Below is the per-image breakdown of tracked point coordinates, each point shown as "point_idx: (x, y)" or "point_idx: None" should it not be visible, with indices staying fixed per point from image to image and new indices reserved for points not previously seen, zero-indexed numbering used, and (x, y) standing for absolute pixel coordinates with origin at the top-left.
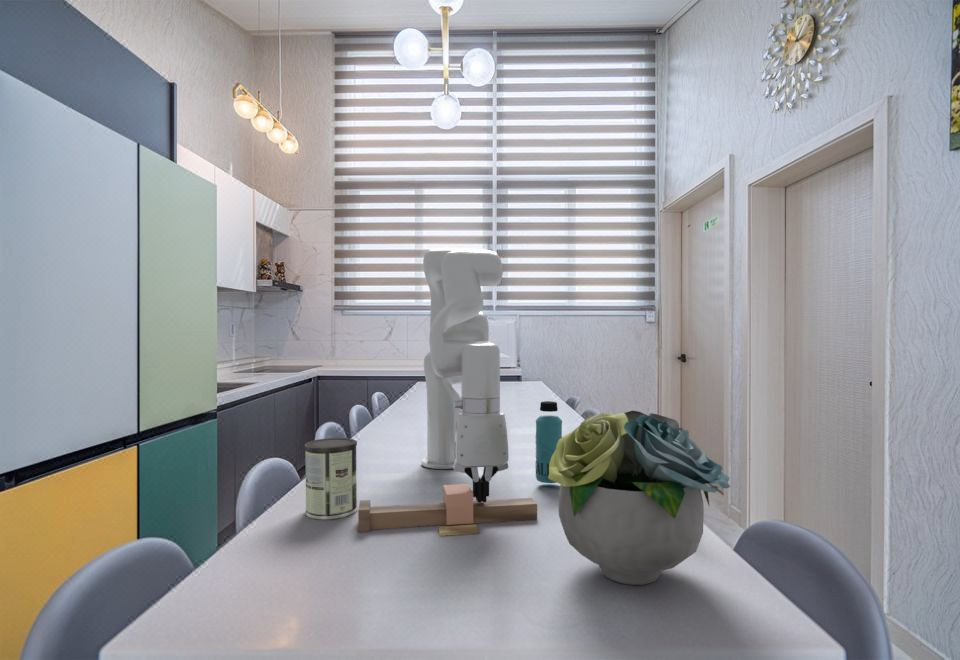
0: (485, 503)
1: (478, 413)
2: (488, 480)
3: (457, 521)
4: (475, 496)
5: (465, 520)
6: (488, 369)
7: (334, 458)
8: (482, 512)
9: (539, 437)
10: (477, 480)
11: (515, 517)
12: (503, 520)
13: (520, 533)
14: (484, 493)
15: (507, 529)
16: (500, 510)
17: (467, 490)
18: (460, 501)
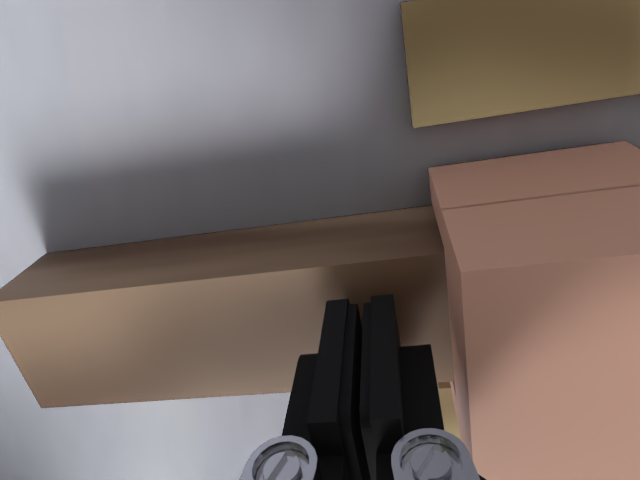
0: None
1: None
2: (282, 451)
3: (549, 159)
4: (417, 345)
5: (489, 167)
6: None
7: None
8: (361, 243)
9: None
10: (410, 449)
11: (157, 248)
12: (232, 233)
13: (108, 8)
14: (337, 340)
15: (201, 89)
16: (234, 261)
17: (510, 359)
18: (580, 222)
